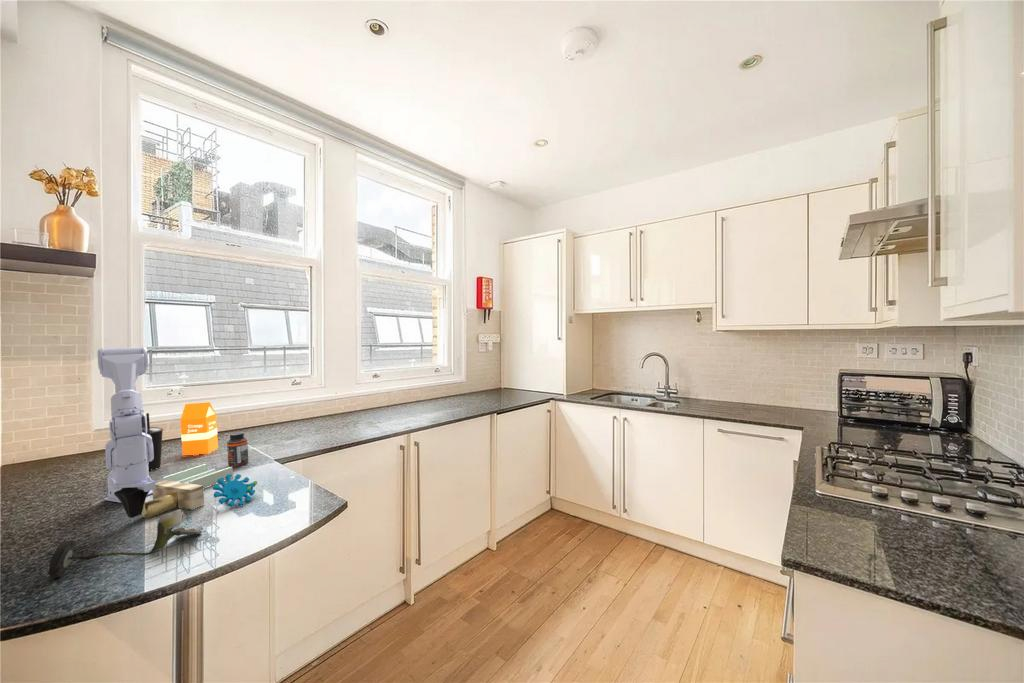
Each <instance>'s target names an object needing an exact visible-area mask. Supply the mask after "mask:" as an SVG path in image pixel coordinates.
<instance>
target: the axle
mask: <svg viewBox="0 0 1024 683" xmlns="http://www.w3.org/2000/svg"><path fill="white" fill-rule="evenodd" d="M195 485H197V484H195ZM174 508H178V495H177V491H176V492H173V493H170V494H168V495H165V496H162V497H159V498H157V499H154V500H153V499H152V500H148V501H145V502H144V506H143V510H142V514H141V516H142V517H143V518H145V517H146V518H145V519H148V518H149V519H150V518H153V517H155V516H157V515H160V514H162V513H164V512H167V511H170V510H173V509H174ZM159 513H160V514H159ZM154 515H155V516H154Z"/></svg>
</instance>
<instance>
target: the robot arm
mask: <svg viewBox="0 0 1024 683" xmlns="http://www.w3.org/2000/svg"><path fill="white" fill-rule="evenodd" d="M96 353H97V366H98V370H99V373H100V375H101V377H102V378H106V379H107V378H108V379H111V380H112V383H113V384H114V388H115V393H114V394H113V395H112V396H111V397H110V412H111V414H110V415H111V419H109V424H108V426H109V437H110V439H109V440H108V441H106V444H105V450H104V452H105V466H106V467H105V468H106V469H107V470H110V471H109V472H108V474H107V492H108V493H107V494H108V496H107V497H104V500H105V501H109V502H113V503H115V502H116V503H120V504H121V505H122V506H123V509H124V511H125V514H126V516H127V517H128V518H131V519H132V518H135V517H138V516H140V515H141V516H142V510H143V506H144V503H145V502H146V498H147V497H148V496H149V495H153V491H152V490H153V489H156V483H157V482H156V480H153V479H152V478H151V477H150V473H149V472H150V471H149V468H148V465H149V462H151V461H152V460H153V459H154V451H153V442H152V437H150V435H148V434H147V417H146V414H145V409H143V408H144V407H143V396H142V394H141V393H140V392H139V391H137V390H136V382H137V379H138V377H139V376H143V375H145V374H146V373H147V371H148V365H149V357H148V350H147V347H145V346H138V347H137V346H135V347H133V346H132V347H118V348H117V347H115V348H114V347H112V348H103V347H102V348H101V347H100V348H99V349H98V350H97V352H96ZM142 429H144V430H145V433H143V432H142Z"/></svg>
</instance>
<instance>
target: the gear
mask: <svg viewBox="0 0 1024 683" xmlns="http://www.w3.org/2000/svg"><path fill="white" fill-rule="evenodd" d="M231 477H232V475H231V474H228V475H226V477H225V478H226V482H225V481H224V478H220V479H218V481H217V482H218V484H216V485H213V486H212V490H213V491H215V492H214V493H213V498H218V497H221V498H219V500H218V502H219V504H220V505H223V504H224V503H225V502H227V501H228V502H227V506H228V507H230V508H233V506H234V505H235V502H236V500H237V501H238V502H237V506H238V507H242V506H241V505H243V506H244V505H245V502H246V503H249V502H250V501H252V500H253V498H252V497H253V496H254V494H255V493H256V490H255V489H254V488H255V487H256V486H257V485H258V481H257V480H254V481H253V482H251V483H249V481H250V478H249V477H248V476H246V477H244V478H243V479H241V478H242V475H241V474H239V473H237V474H236V475H235V476H234V478H233V480H231V479H232V478H231ZM230 478H231V479H230ZM240 479H241V480H240ZM220 485H221V486H222V487H221V486H220ZM243 498H244V499H245V500H244V499H243ZM230 500H231V501H230Z"/></svg>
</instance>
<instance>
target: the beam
mask: <svg viewBox="0 0 1024 683" xmlns="http://www.w3.org/2000/svg"><path fill="white" fill-rule="evenodd" d="M152 491H153V494H152V500H154V499H157V498H159V497H162V496H165V495H168V494H170V493H173V492H176V491H177V495H178V506H177V508H178V509H182V508H185V509H184V510H188V509H191V510H190V511H193V510H192V509H194V508H196V507H198V506H201V505H203V504H204V505H205V496H204V495H205V493H204V489H203V486H202V485H195V484H188V483H181V482H174V481H166V480H164V481H163V480H162V481H158V482H156V489H153V490H152ZM204 505H203V506H204ZM201 507H202V506H201ZM196 509H197V508H196ZM194 510H195V509H194Z"/></svg>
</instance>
